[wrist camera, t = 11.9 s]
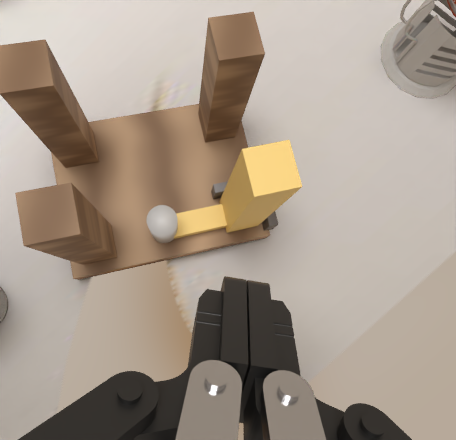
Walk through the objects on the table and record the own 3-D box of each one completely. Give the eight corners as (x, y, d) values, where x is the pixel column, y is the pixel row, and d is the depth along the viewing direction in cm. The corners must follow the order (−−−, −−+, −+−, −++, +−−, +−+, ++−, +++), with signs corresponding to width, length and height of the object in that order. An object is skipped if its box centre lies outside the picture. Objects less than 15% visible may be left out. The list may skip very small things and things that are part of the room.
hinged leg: (154, 249, 36) (140, 221, 23) (147, 216, 37) (129, 170, 23) (257, 225, 38) (302, 186, 24) (250, 195, 38) (289, 139, 25)
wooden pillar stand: (78, 279, 37) (7, 268, 22) (53, 137, 39) (-29, 33, 24) (268, 237, 40) (325, 199, 25) (235, 106, 42) (268, -5, 27)
